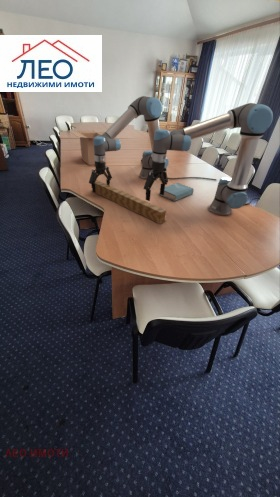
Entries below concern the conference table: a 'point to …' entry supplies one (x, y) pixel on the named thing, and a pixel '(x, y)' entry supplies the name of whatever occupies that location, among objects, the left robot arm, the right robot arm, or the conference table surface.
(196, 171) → the conference table surface
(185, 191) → the book
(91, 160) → the box
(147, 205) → the post
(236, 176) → the right robot arm
